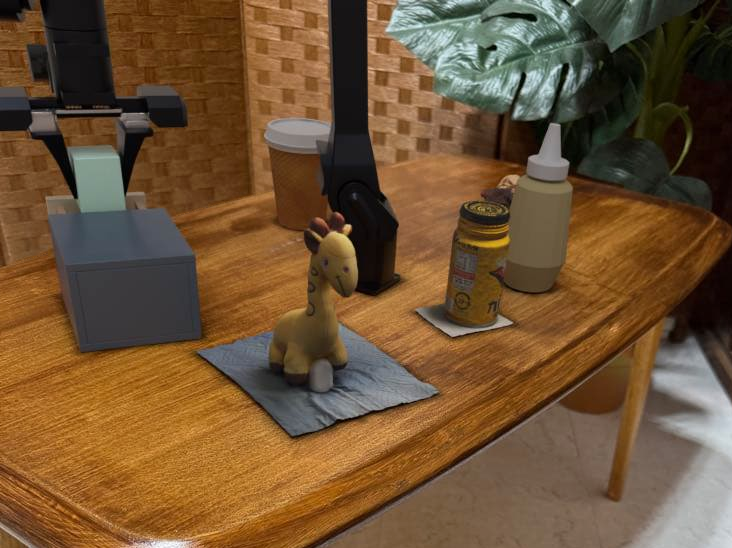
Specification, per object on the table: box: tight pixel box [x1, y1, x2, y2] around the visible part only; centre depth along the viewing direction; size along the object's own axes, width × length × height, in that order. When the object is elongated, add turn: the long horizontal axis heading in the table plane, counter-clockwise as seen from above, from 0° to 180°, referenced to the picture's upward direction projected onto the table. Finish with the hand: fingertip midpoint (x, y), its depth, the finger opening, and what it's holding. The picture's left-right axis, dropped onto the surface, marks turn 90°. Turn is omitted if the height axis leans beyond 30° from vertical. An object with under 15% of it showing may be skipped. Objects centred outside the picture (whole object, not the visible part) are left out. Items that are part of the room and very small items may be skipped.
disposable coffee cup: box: [263, 117, 331, 231], centre depth 110 cm, size 10×10×12 cm
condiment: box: [414, 200, 514, 338], centre depth 90 cm, size 7×8×12 cm
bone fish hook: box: [480, 174, 521, 210], centre depth 123 cm, size 9×5×18 cm
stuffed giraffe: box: [195, 212, 440, 437], centre depth 77 cm, size 16×18×16 cm
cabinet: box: [47, 207, 202, 353], centre depth 85 cm, size 14×12×9 cm
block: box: [66, 144, 126, 213], centre depth 88 cm, size 4×4×6 cm
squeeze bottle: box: [503, 122, 574, 293], centre depth 97 cm, size 8×8×18 cm
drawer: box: [44, 191, 148, 216], centre depth 93 cm, size 17×10×7 cm, turn 24°
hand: (99, 196), depth 89 cm, fingers closed on block, 4 cm apart
